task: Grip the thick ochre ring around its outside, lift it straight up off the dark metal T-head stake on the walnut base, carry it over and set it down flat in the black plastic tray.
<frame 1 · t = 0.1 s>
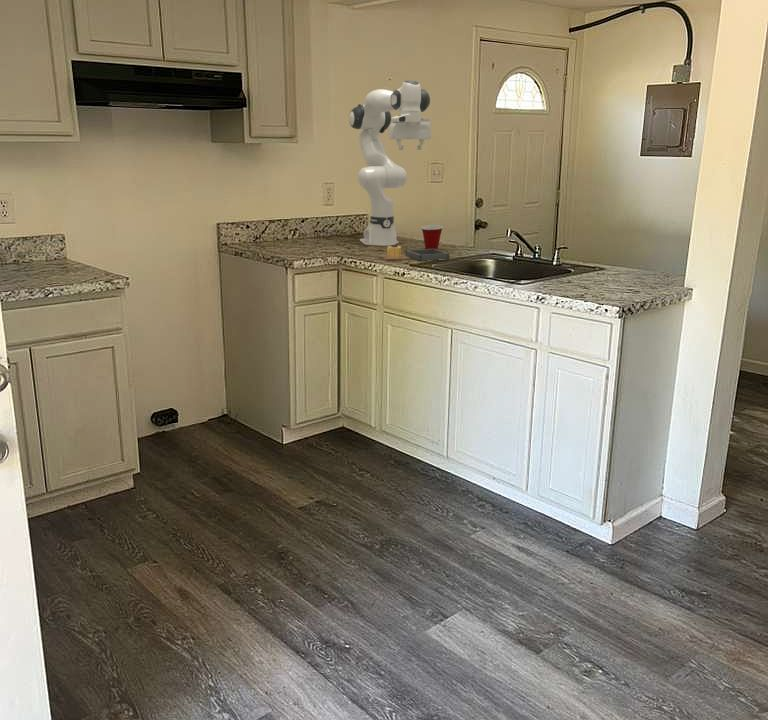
hand: (410, 149, 351), 48 cm above the worktop, fingers open, 8 cm apart
plastic cup: (431, 251, 373), on the worktop
stake: (394, 258, 350), on the worktop
tray: (427, 258, 352), on the worktop
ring: (394, 256, 349), point 1 cm above the worktop, touching stake
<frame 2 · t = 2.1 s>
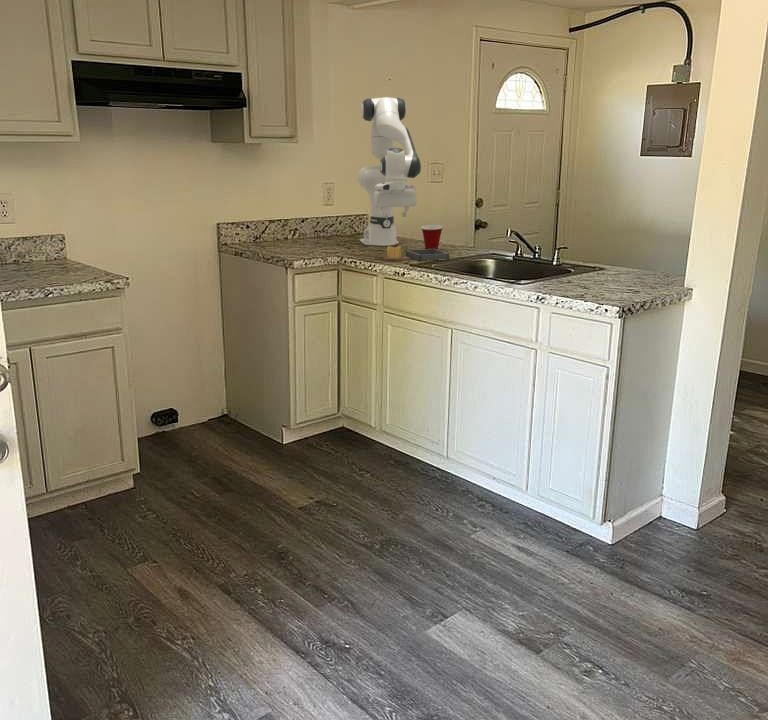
hand: (394, 217, 344), 19 cm above the worktop, fingers open, 8 cm apart
nothing on the worktop moved.
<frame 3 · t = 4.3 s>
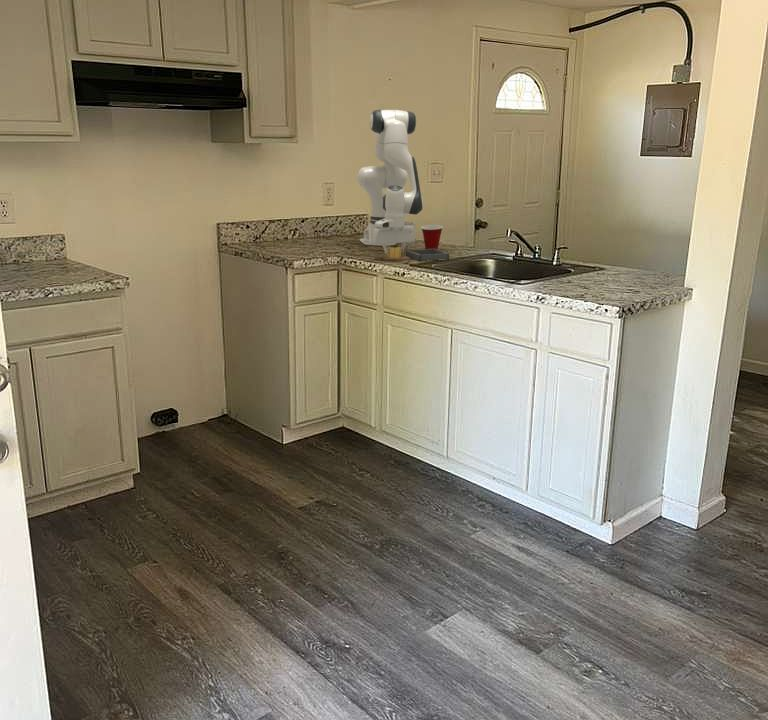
hand: (394, 253, 349), 3 cm above the worktop, fingers closed on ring, 6 cm apart
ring: (394, 256, 349), point 1 cm above the worktop, touching gripper, stake
everything else where it was.
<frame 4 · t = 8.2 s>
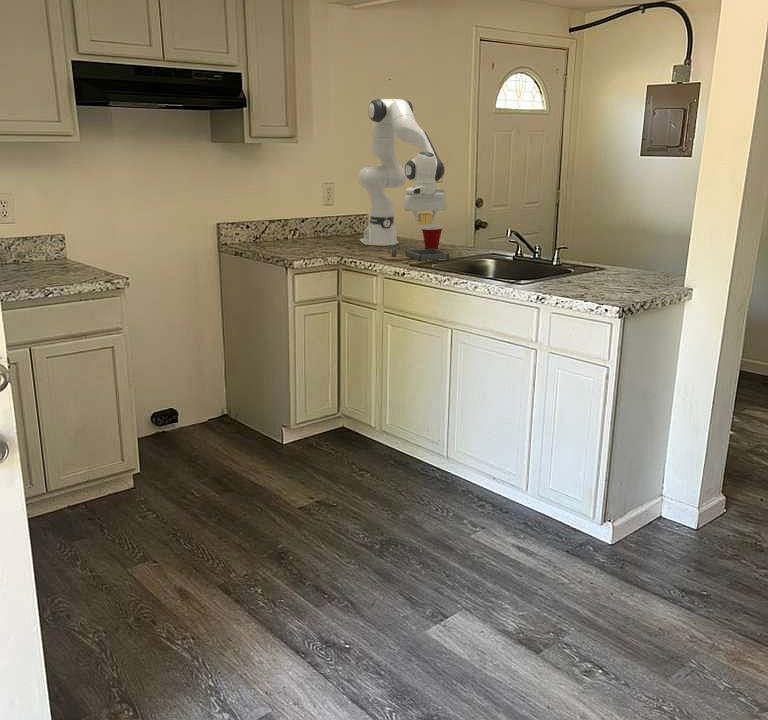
hand: (424, 220, 346), 17 cm above the worktop, fingers closed on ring, 6 cm apart
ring: (424, 224, 347), point 16 cm above the worktop, touching gripper
everything else where it was.
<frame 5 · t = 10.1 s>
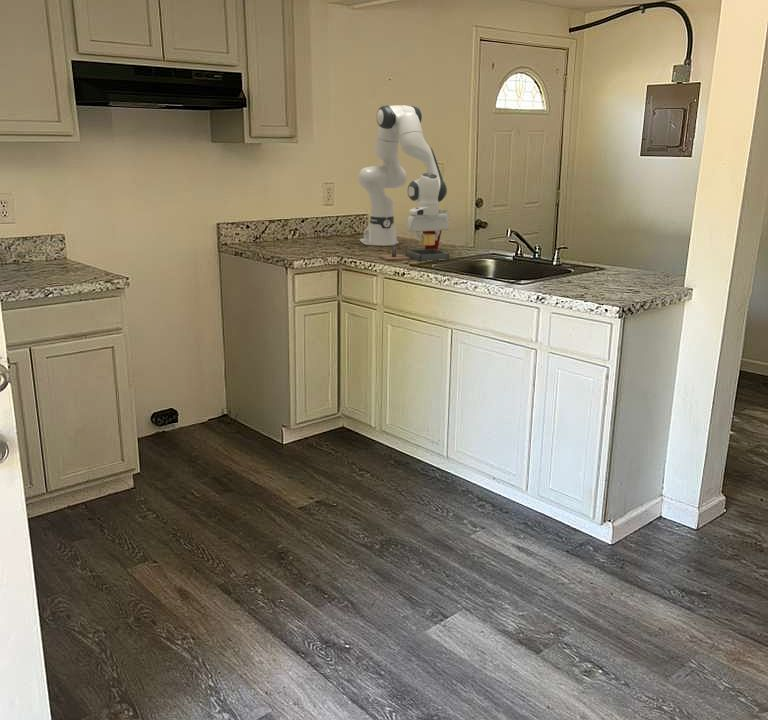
hand: (427, 240, 349), 8 cm above the worktop, fingers closed on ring, 6 cm apart
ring: (427, 244, 350), point 6 cm above the worktop, touching gripper
everything else where it was.
when the fingers open (4 cm above the worktop, at t = 11.9 s): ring drops 1 cm, resting on tray.
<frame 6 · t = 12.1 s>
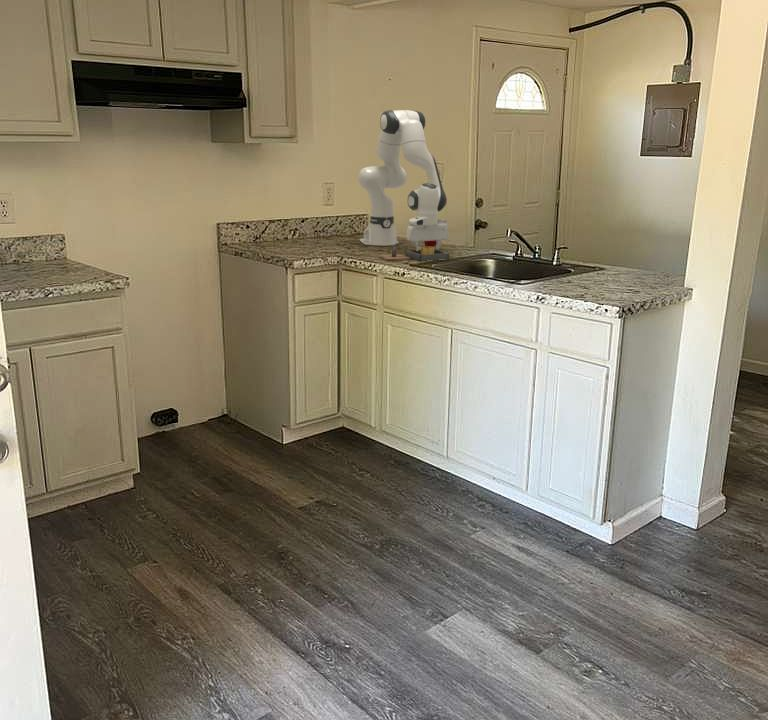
hand: (427, 250, 351), 4 cm above the worktop, fingers open, 8 cm apart
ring: (427, 256, 352), point 1 cm above the worktop, touching tray
everything else where it was.
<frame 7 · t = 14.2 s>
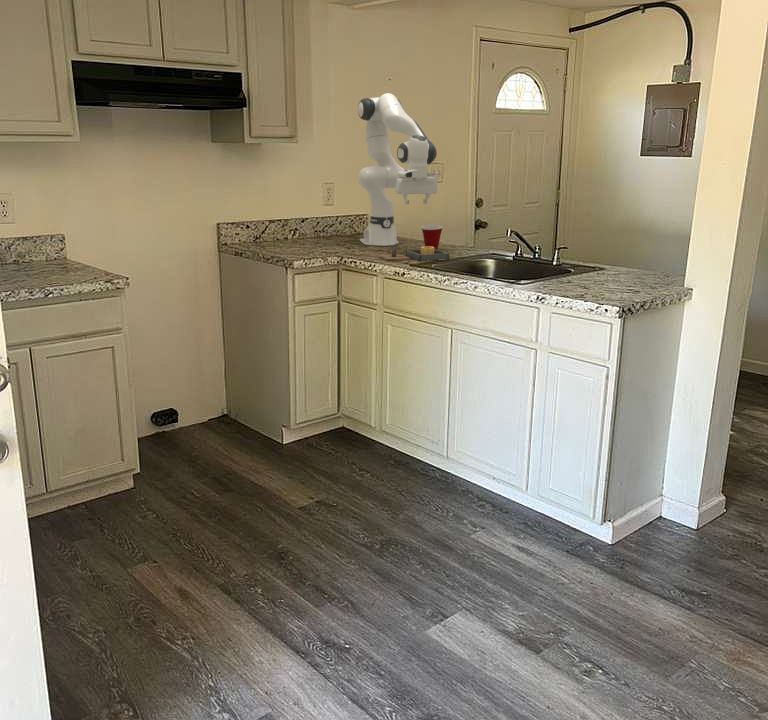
hand: (415, 203, 350), 24 cm above the worktop, fingers open, 8 cm apart
nothing on the worktop moved.
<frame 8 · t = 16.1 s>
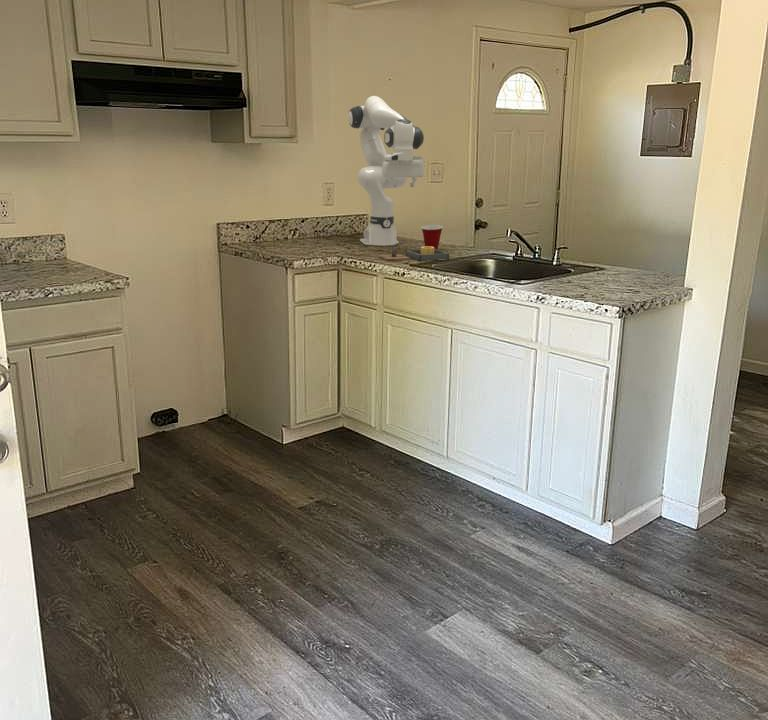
hand: (402, 187, 353), 31 cm above the worktop, fingers open, 8 cm apart
nothing on the worktop moved.
at the end: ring inside the target area on the tray (0.1 cm from its centre), point 0.6 cm above the tray's base; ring tilted 0°; the gripper is holding nothing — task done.
